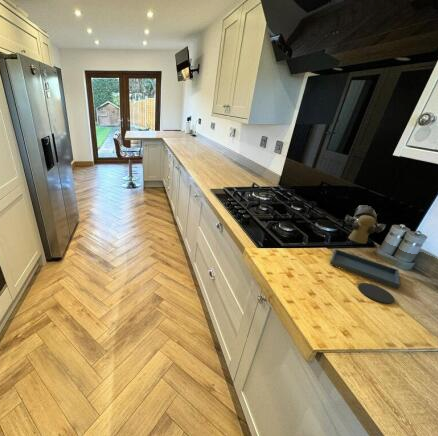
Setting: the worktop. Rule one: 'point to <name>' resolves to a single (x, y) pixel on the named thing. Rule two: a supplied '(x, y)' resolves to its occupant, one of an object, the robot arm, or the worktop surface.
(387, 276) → the tray
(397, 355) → the worktop surface
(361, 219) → the cork
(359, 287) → the coaster
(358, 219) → the robot arm
